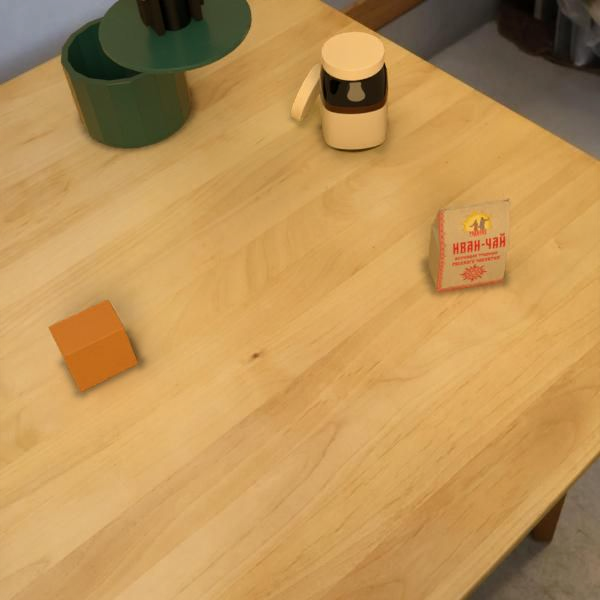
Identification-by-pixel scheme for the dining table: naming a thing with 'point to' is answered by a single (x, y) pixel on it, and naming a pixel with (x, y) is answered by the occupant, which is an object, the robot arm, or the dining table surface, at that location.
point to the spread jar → (348, 92)
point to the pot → (122, 94)
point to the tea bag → (469, 245)
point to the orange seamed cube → (94, 345)
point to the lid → (174, 35)
